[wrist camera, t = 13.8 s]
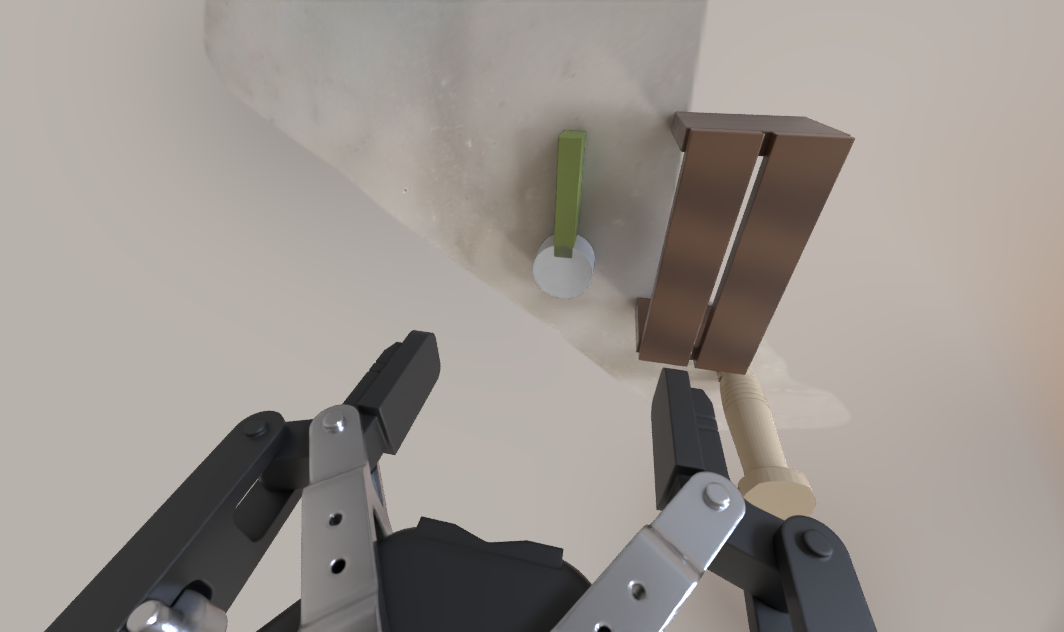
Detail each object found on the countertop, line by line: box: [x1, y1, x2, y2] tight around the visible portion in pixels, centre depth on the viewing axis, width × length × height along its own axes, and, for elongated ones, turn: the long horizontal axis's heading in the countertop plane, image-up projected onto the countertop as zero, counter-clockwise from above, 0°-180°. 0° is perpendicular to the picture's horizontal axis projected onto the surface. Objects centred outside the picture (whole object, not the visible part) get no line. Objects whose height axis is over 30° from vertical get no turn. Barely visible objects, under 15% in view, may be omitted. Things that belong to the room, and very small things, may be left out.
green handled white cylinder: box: [532, 130, 595, 299], centre depth 34 cm, size 14×6×3 cm, turn 179°
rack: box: [635, 112, 855, 375], centre depth 30 cm, size 18×9×8 cm, turn 179°
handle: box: [718, 369, 816, 520], centre depth 35 cm, size 5×6×15 cm
